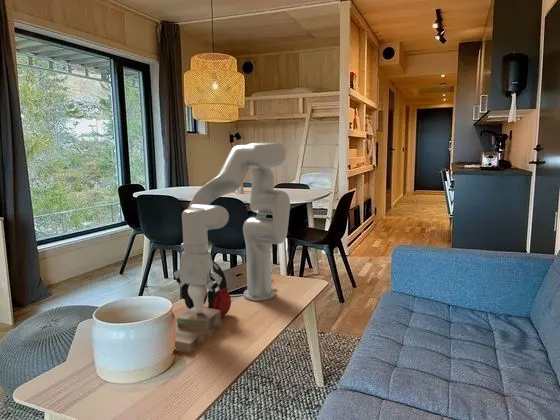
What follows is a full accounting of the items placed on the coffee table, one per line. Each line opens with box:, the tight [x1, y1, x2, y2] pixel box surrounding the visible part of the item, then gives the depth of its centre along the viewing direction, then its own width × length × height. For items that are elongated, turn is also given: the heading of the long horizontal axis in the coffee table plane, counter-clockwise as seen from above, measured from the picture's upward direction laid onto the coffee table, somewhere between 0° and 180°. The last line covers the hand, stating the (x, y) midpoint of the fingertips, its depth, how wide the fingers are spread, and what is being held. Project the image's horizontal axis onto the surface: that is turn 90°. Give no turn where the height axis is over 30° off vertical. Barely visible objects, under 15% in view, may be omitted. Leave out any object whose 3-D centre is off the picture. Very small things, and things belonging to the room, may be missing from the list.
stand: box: [175, 306, 222, 354], centre depth 128 cm, size 18×10×6 cm, turn 158°
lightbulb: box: [188, 284, 208, 314], centre depth 130 cm, size 6×6×11 cm
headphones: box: [184, 259, 232, 319], centre depth 144 cm, size 18×10×20 cm, turn 53°
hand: (198, 299), depth 130 cm, fingers open, 9 cm apart
